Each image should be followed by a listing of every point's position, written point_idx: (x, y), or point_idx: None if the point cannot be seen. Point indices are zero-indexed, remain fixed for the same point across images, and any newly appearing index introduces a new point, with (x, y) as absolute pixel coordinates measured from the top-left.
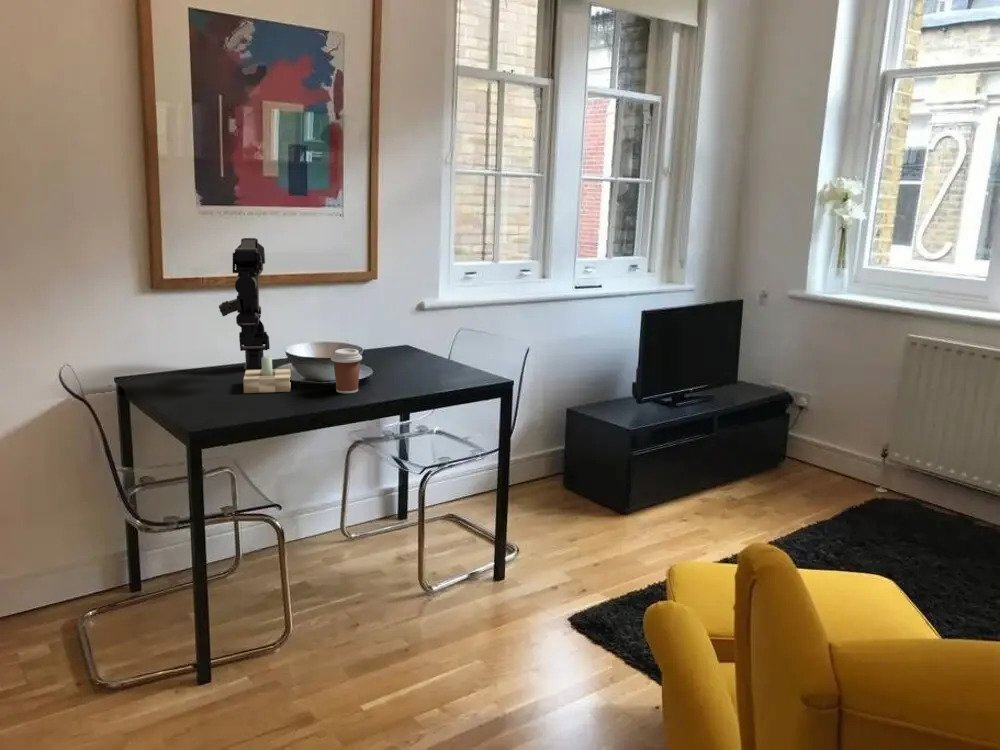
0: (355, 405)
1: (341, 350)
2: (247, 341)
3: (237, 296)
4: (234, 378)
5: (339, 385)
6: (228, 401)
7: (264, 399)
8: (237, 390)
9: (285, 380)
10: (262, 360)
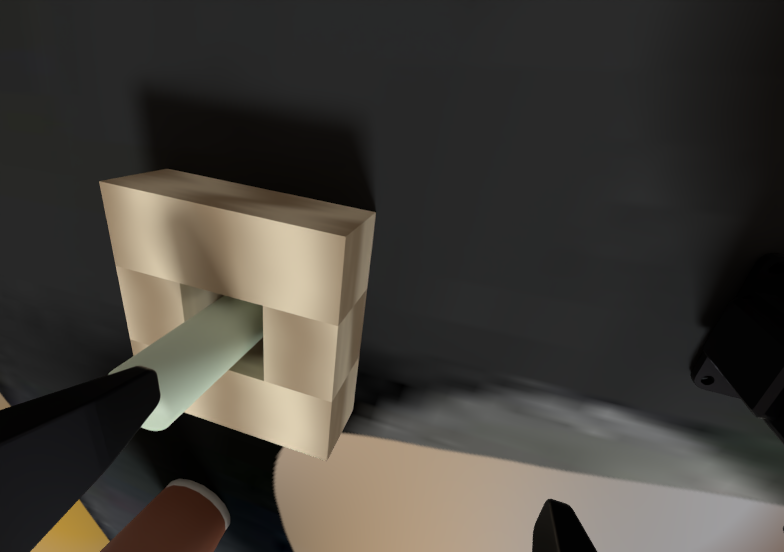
0: None
1: None
2: (79, 391)
3: None
4: (520, 148)
5: (152, 502)
6: (31, 73)
7: (80, 241)
8: (218, 139)
9: None
10: (128, 360)
